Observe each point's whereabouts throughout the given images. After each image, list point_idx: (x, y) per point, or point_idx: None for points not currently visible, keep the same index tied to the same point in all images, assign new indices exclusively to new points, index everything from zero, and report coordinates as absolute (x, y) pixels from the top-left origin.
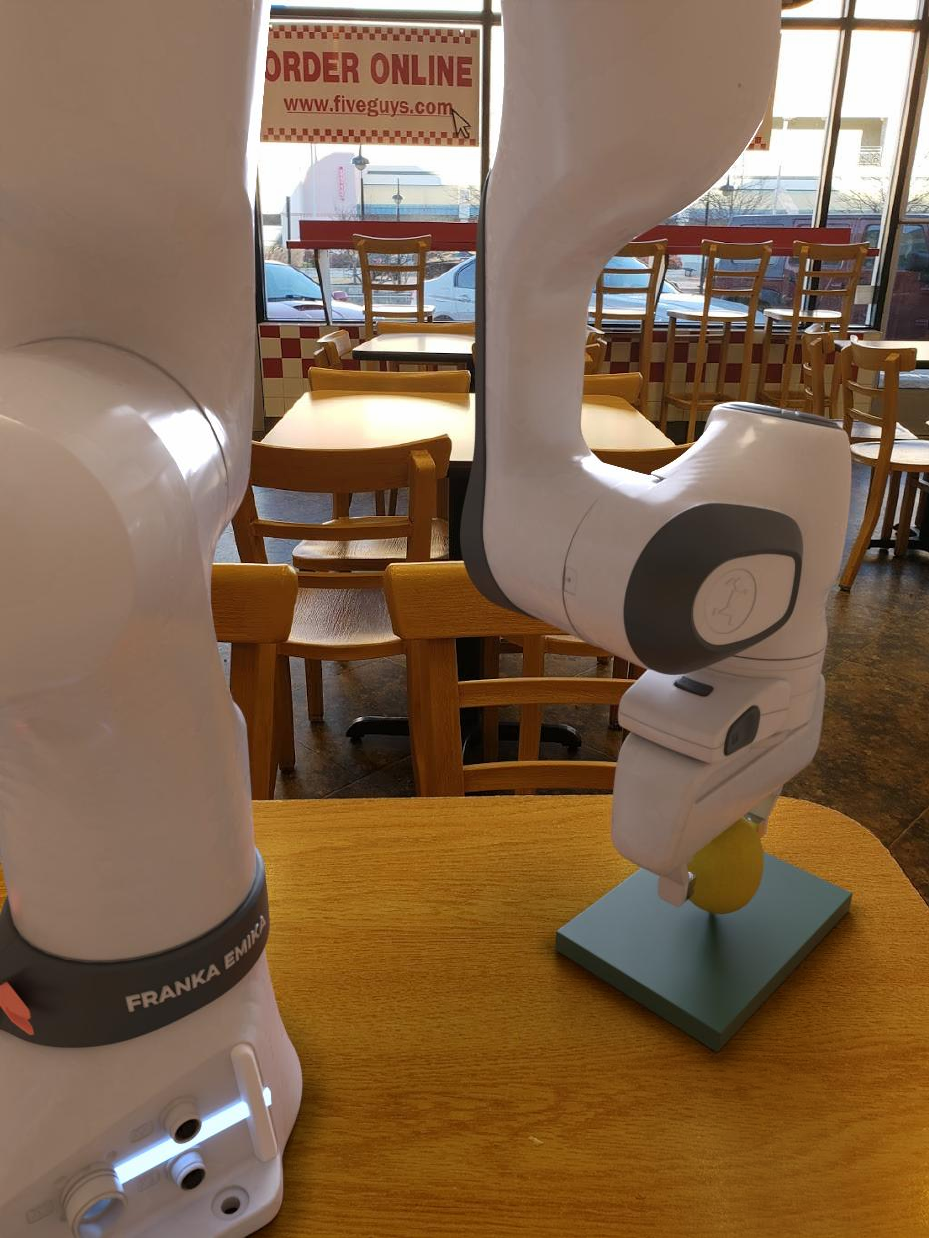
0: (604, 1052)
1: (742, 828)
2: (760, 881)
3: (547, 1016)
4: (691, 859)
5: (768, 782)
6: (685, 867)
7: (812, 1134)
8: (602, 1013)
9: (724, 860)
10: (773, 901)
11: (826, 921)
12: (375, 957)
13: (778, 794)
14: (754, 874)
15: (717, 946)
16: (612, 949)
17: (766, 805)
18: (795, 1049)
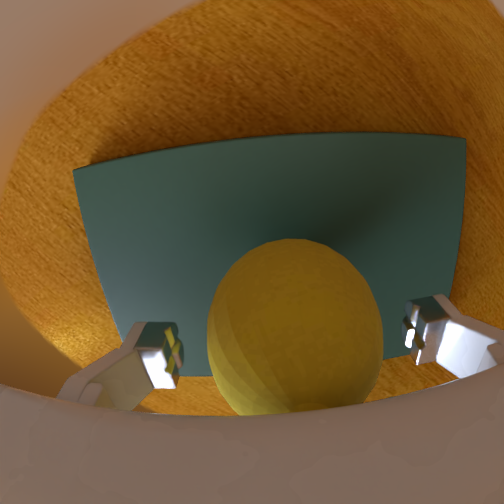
0: (500, 219)
1: (310, 373)
2: (268, 249)
3: (491, 278)
4: (491, 348)
5: (184, 472)
6: (500, 338)
7: (452, 26)
8: (470, 251)
9: (376, 323)
10: (183, 230)
11: (155, 151)
12: None
13: (82, 376)
14: (310, 262)
15: (346, 224)
16: None
17: (117, 371)
18: (384, 69)
